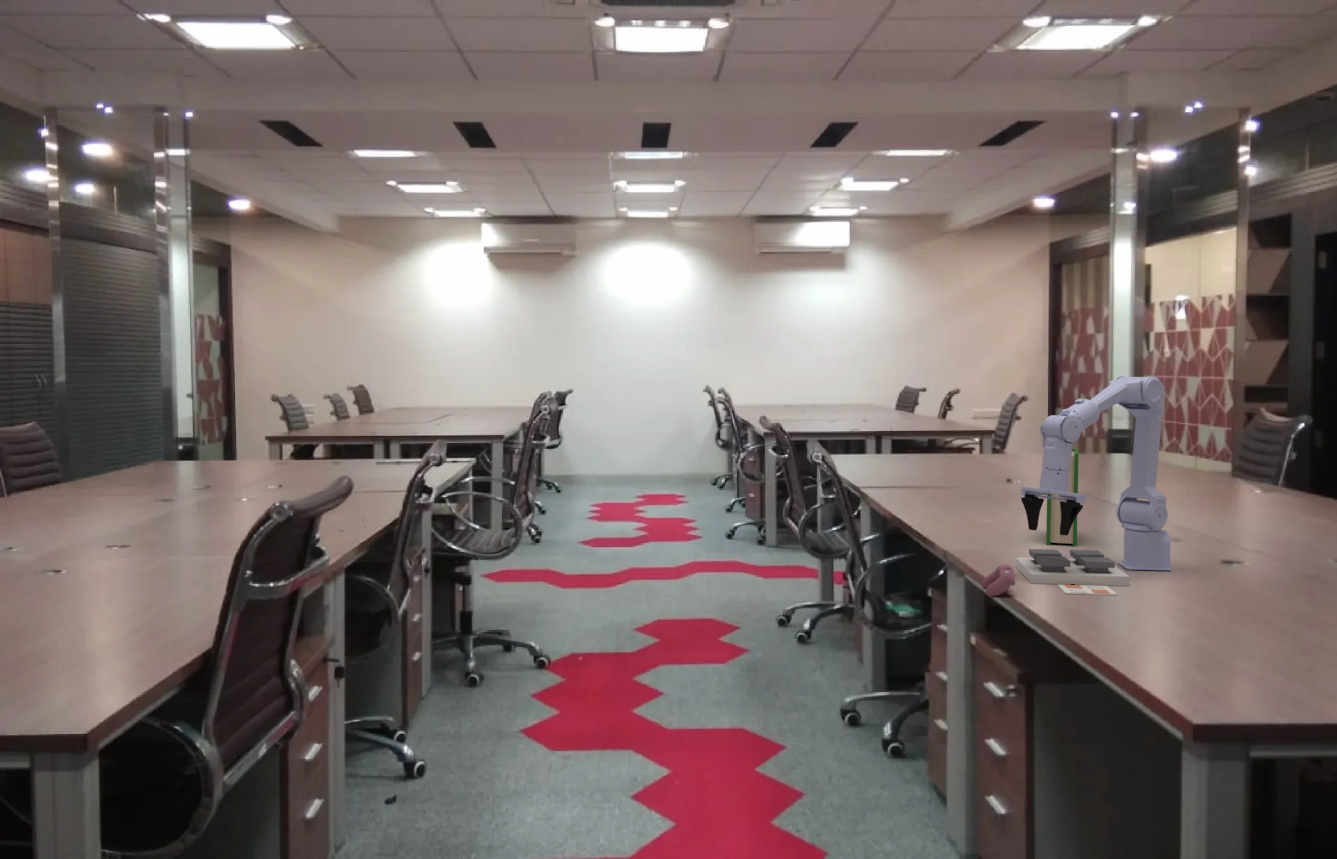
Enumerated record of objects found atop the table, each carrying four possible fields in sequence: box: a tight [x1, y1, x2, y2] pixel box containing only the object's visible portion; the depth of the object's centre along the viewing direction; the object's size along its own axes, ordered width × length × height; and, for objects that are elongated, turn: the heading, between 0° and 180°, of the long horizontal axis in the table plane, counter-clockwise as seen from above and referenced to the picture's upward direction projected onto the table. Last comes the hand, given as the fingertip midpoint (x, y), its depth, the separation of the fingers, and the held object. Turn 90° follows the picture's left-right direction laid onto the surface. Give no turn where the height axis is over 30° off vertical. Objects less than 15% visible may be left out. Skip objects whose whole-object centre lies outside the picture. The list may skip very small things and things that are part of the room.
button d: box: [1036, 556, 1071, 572], centre depth 231 cm, size 6×6×3 cm
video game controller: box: [981, 563, 1017, 598], centre depth 218 cm, size 10×5×7 cm, turn 169°
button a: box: [1069, 549, 1105, 565], centre depth 238 cm, size 6×6×3 cm
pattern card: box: [1056, 584, 1118, 596], centre depth 219 cm, size 10×8×1 cm
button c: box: [1079, 556, 1116, 573], centre depth 229 cm, size 6×6×3 cm
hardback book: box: [1045, 448, 1079, 548], centre depth 281 cm, size 18×7×24 cm, turn 159°
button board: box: [1015, 557, 1131, 587], centre depth 235 cm, size 20×20×2 cm
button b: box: [1028, 548, 1063, 564], centre depth 240 cm, size 6×6×3 cm
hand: (1048, 532), depth 229 cm, fingers open, 7 cm apart
